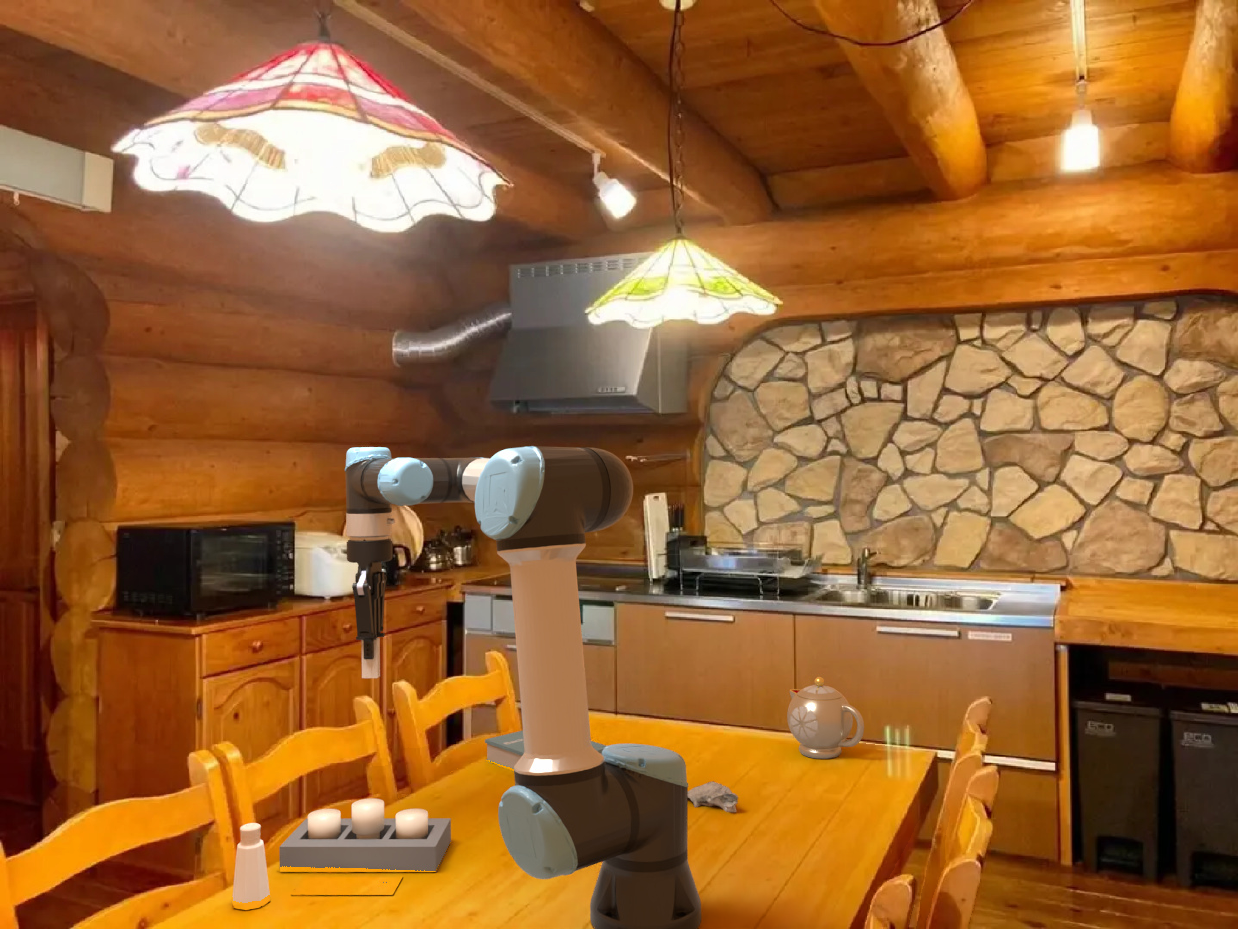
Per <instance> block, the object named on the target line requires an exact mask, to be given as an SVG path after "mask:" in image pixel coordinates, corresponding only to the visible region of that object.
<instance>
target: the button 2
mask: <svg viewBox="0 0 1238 929" xmlns="http://www.w3.org/2000/svg"><path fill="white" fill-rule="evenodd" d="M395 818H396V839H427V838H428V818H429V813H428V811H427V810H426V809H423V808H408V809H403V810H400V811H398V812H397V813H396V814H395Z"/></svg>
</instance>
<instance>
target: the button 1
mask: <svg viewBox="0 0 1238 929" xmlns="http://www.w3.org/2000/svg"><path fill="white" fill-rule="evenodd" d="M341 815H342V814H341V811H340V810H339V809H337V808H322V809H317V810H314V811H311V812H310V813H308V815H307V819H308V839H338V838H339V837H340V835H341V819H342V818H341Z"/></svg>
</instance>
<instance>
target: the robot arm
mask: <svg viewBox="0 0 1238 929" xmlns="http://www.w3.org/2000/svg"><path fill="white" fill-rule="evenodd" d="M345 456H346V457H345V458H346V459H345V468H344V472H345V497H346V498H345V499H346V500H345V503H346V507H345V508H346V513H345V515H346V516H345V520H346V522H345V523H346V524H345V525H346V527H345V532H346V533H345V535H346V537H348V538H349V539H348V540H347V541H346V560H347V562H349V563H353V564H354V563H357V565H358V566H357V572H356V573H355V580H354V582H353V583H352V585H351V587H352V593H353V600H354V608H355V609H354V610H355V611H354V612H355V622H356V623H355V624H356V632H357V633H356V637H355V639H356V641H360V642H361V679H378V678H380V677H381V652H380V651H381V650H380V649H381V648H380V647H381V645H380V644H381V639H380V638H384V637H385V636H386V635H385V634H386V633H385V632H383V631H384V616H385V614H384V613H385V598H386V597H385V593H386V592H385V591H386V583H387V575H386V574H385V571H383V568H382V563H386V562H389V561H392V559H393V540H392V539H391V538H389V537H390V536H391V535H392V534H393V525H392V524H395V523H396V519H395V518H394V517H392V514H393V513H392V510H393V507H392V506H393V505H396V506H400V507H403V506H404V507H405V506H414V505H421V504H442V503H469V504H472V503H473V504H474V511H475V518H476V522H477V523H478V525H480V530H481V531H482V533H483V534H484V535H486V537H488V538H490V539H493V540H494V541H495V542H496V543H495V544H496V554H497V555H498V556H499V557H500V558H502V559H503V560H504V561H505V562H506V563H507V564H508V566H509V570H510V571H509V572H510V583H511V585H510V586H511V594H512V595H511V596H512V608H513V621H514V633H515V634H514V635H515V646H516V660H517V671H518V683H519V697H520V708H521V721H522V731H523V737H524V750H525V752H524V754H523V756H522V757H521V758H520V759H519V761H518V762H517V763H516V765H515V766H514V772H513V774H514V775H513V776H514V785H513V786H511V787H509V788H508V789H507V790H506V791H505V792H504V793H503V794H502V796H501V798H500V802H499V804H498V814H497V815H498V824H499V829H500V833H501V837H502V839H503V842H504V844H505V845H504V846H505V847H506V849H507V851H508V853H509V855H510V856H511V857H512V859H513V861H514V862H515V863H516V865H517V866H518V867H519V868H520V869H521V871H523V872H524V873H526V874H527V875H528V876H530V877H533V878H535V879H538V880H550V879H554V878H557V877H561V876H568V875H572V874H574V873H575V872H577V871H579V870H582V869H585V868H588V867H591V866H593V865H594V866H595V865H597V864H599V863H601V866H600V869H599V873H598V876H597V879H596V882H595V886H594V888H593V893H592V895H591V899H590V904H589V906H590V907H589V908H590V911H589V912H590V914H589V916H590V924H591V925H592V927H593V928H594V929H698V927H699V926H700V924H701V922H702V902H701V898H700V895H699V892H698V889H697V886H696V883H695V879H694V877H693V874H692V871H691V867H690V864H689V860H688V859H689V858H688V857H689V856H688V855H689V854H688V804H689V803H688V801H689V800H688V799H689V798H688V791H689V790H688V788H689V783H688V782H687V781H688V779H687V765H686V762H685V759H684V758H683V757H682V756H681V754H680V753H678V752H675V751H674V750H671V749H667V748H664V747H662V746H661V747H660V746H656V745H649V744H642V743H641V744H640V743H616V744H610V745H606V747H605V748H604V749H603V751H602V755H601V754H600V753H599V752H598V751H597V750H595V749H594V748H593V746H592V745H591V741H592V739H591V727H590V726H591V724H590V715H589V702H588V692H587V681H586V680H587V679H586V667H585V656H584V643H583V634H582V622H581V620H582V619H581V610H580V608H581V607H580V600H579V586H578V576H577V575H578V574H577V564H576V563H577V558H578V557H579V555H580V554H581V552H582V551H583V550H584V549H585V548H586V545H587V542H586V533H593V532H594V533H595V532H599V531H602V530H605V529H607V528H610V527H611V526H613V525H615V524H616V523H618V522H619V521H620V520H621V519H622V518H623V517H624V515H625V514H626V513H627V511H629V508H630V506H631V503H632V500H633V496H634V483H633V479H632V476H631V473H630V472H631V471H629V468H628V467H627V466H626V464H625V463H624V461H622V460H621V458H619V457H618V456H617V455H615V454H614V453H613V452H610V451H608V450H605V449H601V448H596V447H584V446H583V447H566V446H565V447H562V446H536V445H535V446H534V445H531V446H530V445H529V446H521V447H520V446H519V447H512V448H511V447H510V448H505V449H503V450H499V451H498V452H496V453H494V455H493V456H491V457H490V458H489V457H478V456H477V457H476V456H473V457H452V458H451V457H450V458H449V457H446V458H445V457H440V458H439V457H430V458H428V457H422V458H421V457H414V458H413V457H395V458H392V452H391V450H390V449H389V448H388V447H381V446H378V447H374V446H369V447H368V446H367V447H366V446H365V447H363V446H362V447H351V448H349V449H348V450H347V451H346V455H345Z"/></svg>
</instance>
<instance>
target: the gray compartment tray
mask: <svg viewBox="0 0 1238 929" xmlns="http://www.w3.org/2000/svg"><path fill="white" fill-rule="evenodd" d="M451 820H452V818H448V817H447V818H443V817H442V818H437V817H436V818H433V817H432V818H429V817H428V838H427V839H396V817H394V818H385V817H384V829H383V830H382V831H380V839H357V836H356V834H355V833H353V832H352V818H341V835H340V837H339V838H338V839H308V818H305V819H304V820H303V822H301V824H300V825H299V826H297V827H296V829H295V830H293V832H292V833H291V834H290V835H289V836H288V837H287V838H286V839H285V841H283V843H281V845H280V846H279V847H278V848H279V849H278V850H279V868H280V867H282V866H283V867H284V866H285V867H286V866H287V867H290V866H291V867H311V868H312V867H313V868H314V867H315V868H325V867H328V868H329V867H330V868H331V867H333V868H334V867H335V868H339V867H340V868H366V869H367V868H368V869H382V870H383V869H385V870H386V869H388V870H389V869H390V870H395V869H396V870H415V871H417V870H418V871H420V870H421V871H424V870H425V871H436V869H437V867H438V865H439V864H440V865H441V863H442V861H443V859H444V857H445V855H446V853H447V852H446V850H447V848H448V846H449V844H450V842H451V843H452V827H451V826H452V825H451V824H452V823H451V822H452V821H451ZM450 845H451V844H450ZM449 847H450V846H449ZM448 849H449V848H448ZM447 851H448V850H447ZM445 852H446V853H445ZM444 854H445V855H444ZM443 856H444V857H443ZM442 858H443V859H442ZM441 860H442V861H441ZM440 862H441V863H440ZM440 865H439V866H440ZM438 868H439V867H438ZM437 870H438V869H437ZM436 872H437V871H436Z"/></svg>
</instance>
